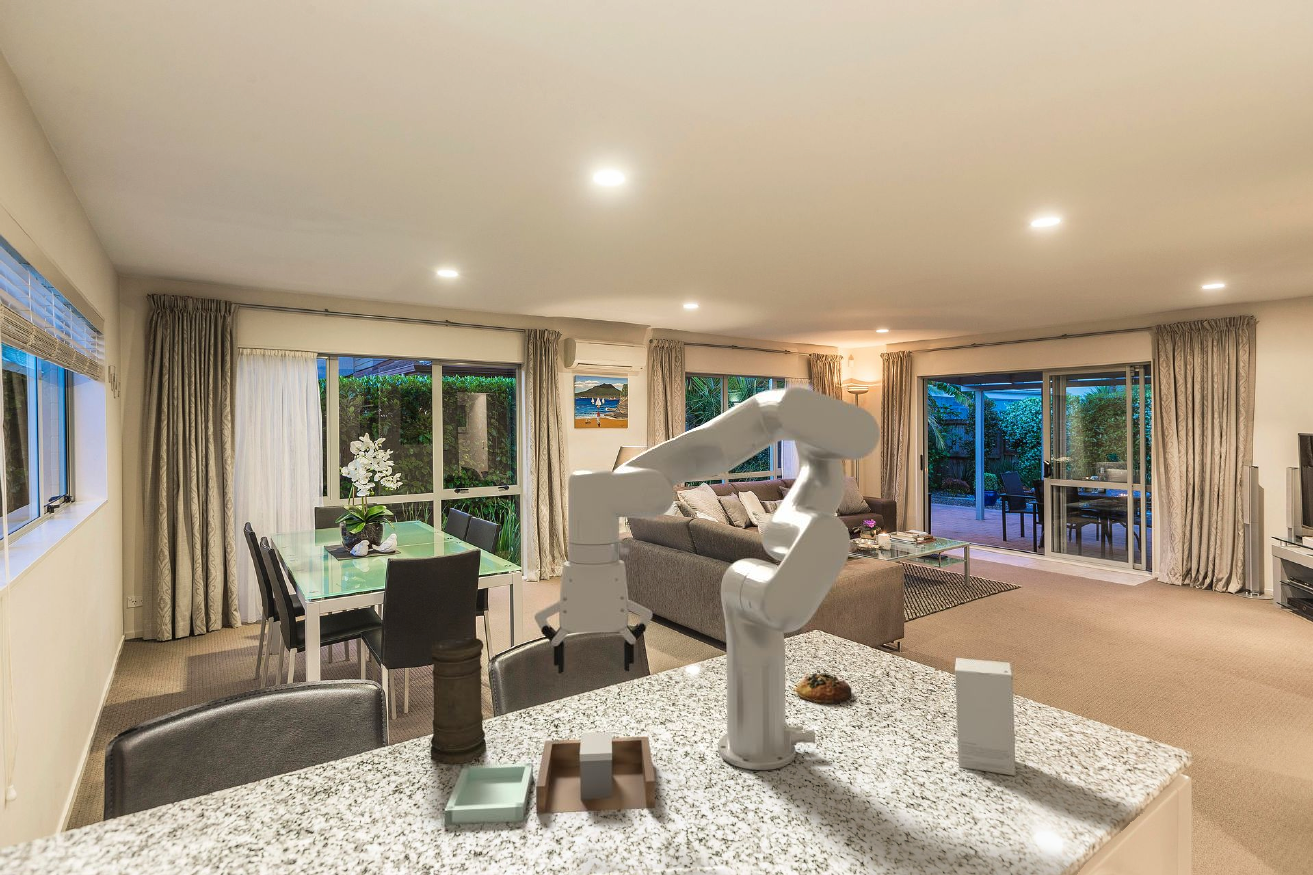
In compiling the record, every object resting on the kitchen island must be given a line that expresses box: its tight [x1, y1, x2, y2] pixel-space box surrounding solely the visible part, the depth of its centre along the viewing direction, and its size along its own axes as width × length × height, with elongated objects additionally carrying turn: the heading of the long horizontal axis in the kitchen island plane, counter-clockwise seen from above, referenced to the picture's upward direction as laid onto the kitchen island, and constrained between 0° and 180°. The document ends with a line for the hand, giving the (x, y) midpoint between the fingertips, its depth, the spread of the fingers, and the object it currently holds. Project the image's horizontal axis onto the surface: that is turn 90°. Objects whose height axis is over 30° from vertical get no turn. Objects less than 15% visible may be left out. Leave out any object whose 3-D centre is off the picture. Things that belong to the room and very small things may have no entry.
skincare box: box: [954, 657, 1017, 776], centre depth 108 cm, size 8×7×16 cm
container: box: [429, 636, 487, 765], centre depth 114 cm, size 9×9×18 cm
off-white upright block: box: [580, 731, 613, 800], centre depth 102 cm, size 5×7×6 cm, turn 4°
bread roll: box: [794, 672, 852, 704], centre depth 138 cm, size 11×11×5 cm
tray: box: [444, 762, 534, 827], centre depth 99 cm, size 10×12×2 cm
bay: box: [535, 736, 656, 815], centre depth 102 cm, size 16×14×4 cm
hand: (594, 669), depth 102 cm, fingers open, 9 cm apart
